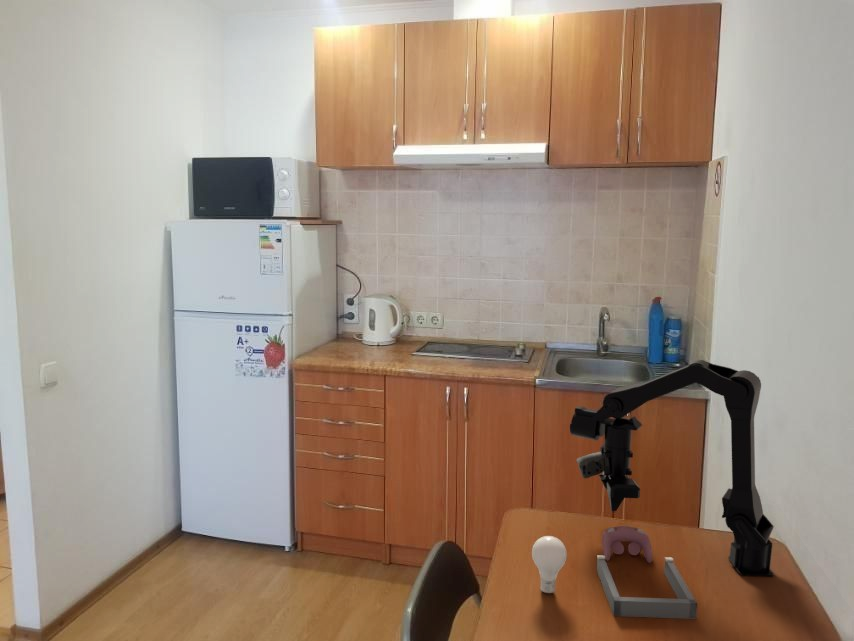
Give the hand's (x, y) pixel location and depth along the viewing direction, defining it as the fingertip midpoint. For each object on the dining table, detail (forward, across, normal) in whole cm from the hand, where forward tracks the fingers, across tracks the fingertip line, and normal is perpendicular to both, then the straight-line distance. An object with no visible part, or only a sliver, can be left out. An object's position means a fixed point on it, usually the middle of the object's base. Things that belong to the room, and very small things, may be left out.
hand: (613, 510), depth 150 cm
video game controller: (+4, +12, 0) cm, 13 cm away
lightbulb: (+4, +27, -18) cm, 32 cm away
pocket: (+4, +25, 0) cm, 26 cm away
